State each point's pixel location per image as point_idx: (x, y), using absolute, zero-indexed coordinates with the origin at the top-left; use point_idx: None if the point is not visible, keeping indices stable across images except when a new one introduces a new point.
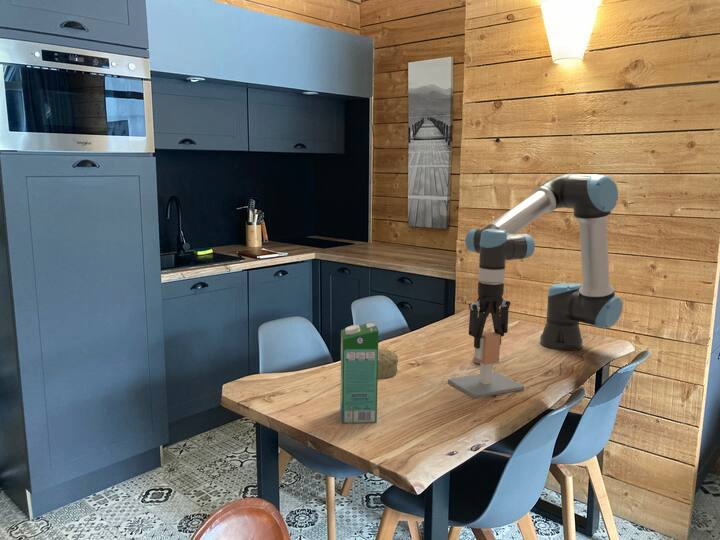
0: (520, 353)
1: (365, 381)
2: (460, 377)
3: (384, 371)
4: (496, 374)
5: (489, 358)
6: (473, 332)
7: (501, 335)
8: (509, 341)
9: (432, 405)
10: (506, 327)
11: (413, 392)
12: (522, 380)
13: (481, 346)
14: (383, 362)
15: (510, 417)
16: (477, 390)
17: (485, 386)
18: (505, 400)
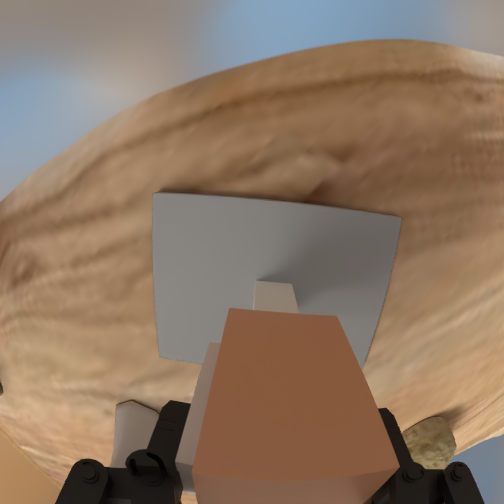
0: (41, 392)
1: None
2: None
3: (444, 426)
4: (173, 337)
5: (309, 333)
6: (476, 486)
7: (151, 462)
8: (46, 430)
9: (499, 240)
10: (72, 500)
11: (471, 332)
12: (108, 266)
13: None
14: (451, 442)
15: (388, 40)
16: (362, 248)
17: (303, 267)
18: (309, 137)
